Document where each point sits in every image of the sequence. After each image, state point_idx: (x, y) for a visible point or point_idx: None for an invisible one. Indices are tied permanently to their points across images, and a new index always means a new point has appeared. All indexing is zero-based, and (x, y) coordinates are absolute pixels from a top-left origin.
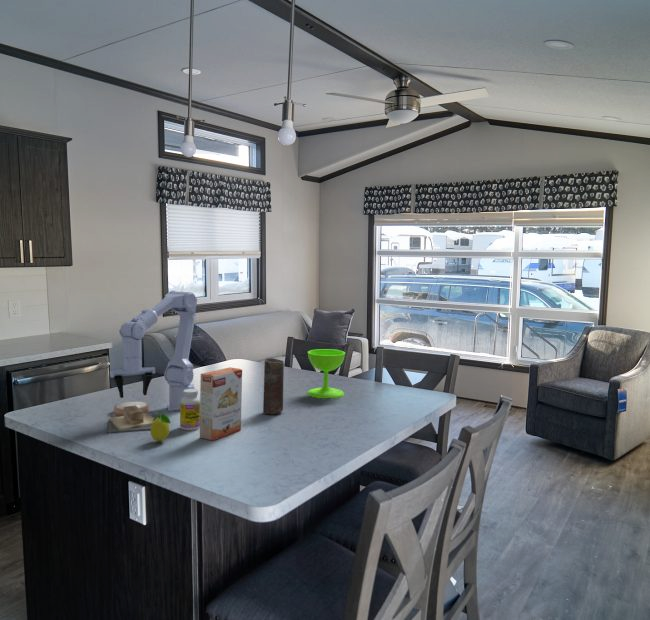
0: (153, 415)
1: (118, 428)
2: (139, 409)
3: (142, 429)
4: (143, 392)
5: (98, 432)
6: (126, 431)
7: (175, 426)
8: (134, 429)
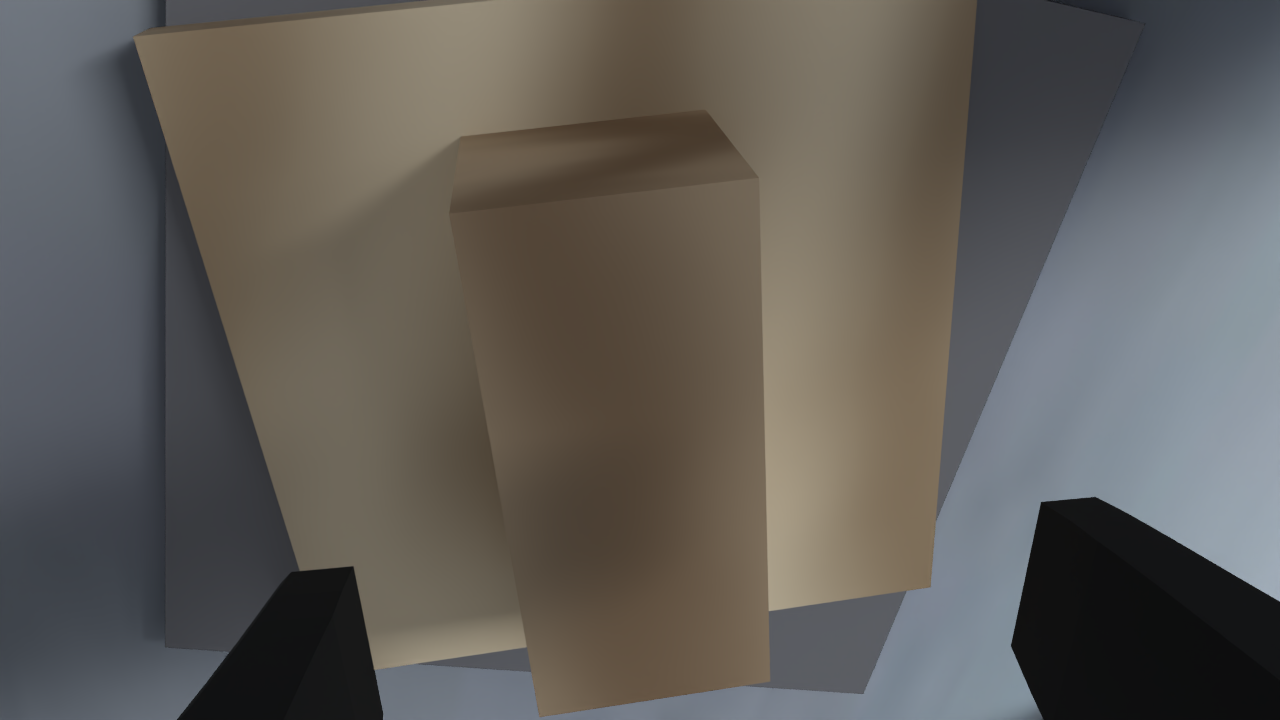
0: (1050, 58)
1: None
2: (742, 548)
3: None
4: (1063, 600)
5: (28, 557)
6: None
7: None
8: None
